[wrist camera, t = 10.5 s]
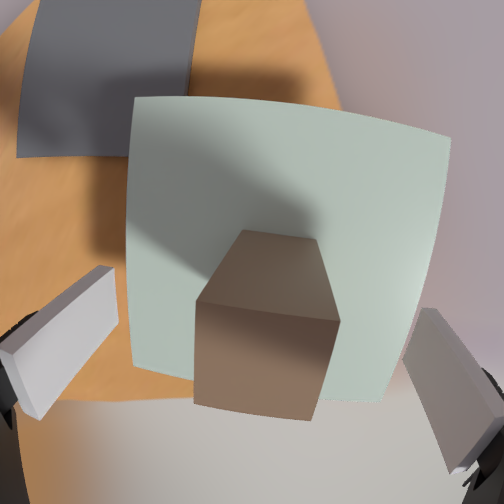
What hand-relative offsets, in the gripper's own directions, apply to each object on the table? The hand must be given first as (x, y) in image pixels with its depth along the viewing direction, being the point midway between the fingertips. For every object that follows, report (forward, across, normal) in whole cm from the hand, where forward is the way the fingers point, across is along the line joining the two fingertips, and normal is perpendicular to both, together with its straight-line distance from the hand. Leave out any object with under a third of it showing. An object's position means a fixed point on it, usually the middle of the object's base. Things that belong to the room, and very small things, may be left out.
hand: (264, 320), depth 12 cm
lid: (+6, 0, 0) cm, 6 cm away
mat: (+16, -19, +15) cm, 29 cm away
